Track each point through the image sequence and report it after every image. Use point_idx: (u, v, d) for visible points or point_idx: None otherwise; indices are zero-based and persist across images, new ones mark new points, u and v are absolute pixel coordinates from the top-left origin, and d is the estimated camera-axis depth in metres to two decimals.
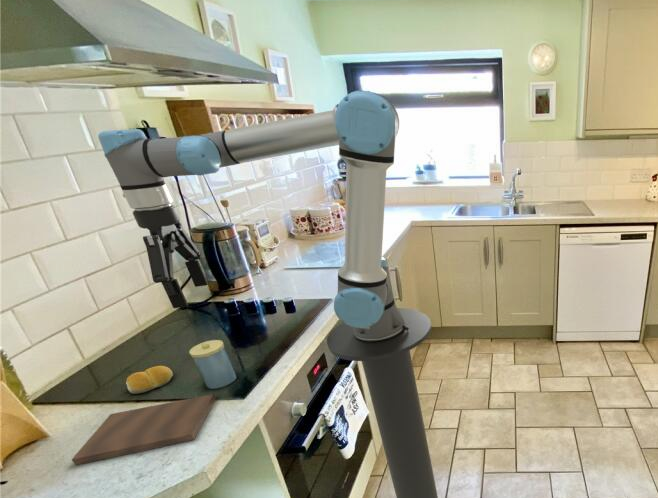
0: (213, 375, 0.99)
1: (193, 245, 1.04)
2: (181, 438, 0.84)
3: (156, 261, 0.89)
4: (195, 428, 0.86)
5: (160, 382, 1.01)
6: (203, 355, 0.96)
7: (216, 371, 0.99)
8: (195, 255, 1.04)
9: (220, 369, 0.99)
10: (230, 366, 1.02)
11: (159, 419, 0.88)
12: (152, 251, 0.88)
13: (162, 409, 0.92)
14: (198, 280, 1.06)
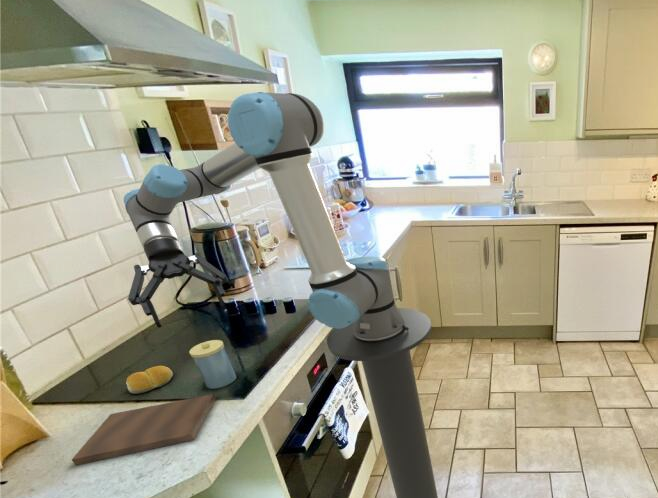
0: (213, 375, 0.99)
1: (215, 270, 1.09)
2: (181, 438, 0.84)
3: None
4: (195, 428, 0.86)
5: (160, 382, 1.01)
6: (203, 355, 0.96)
7: (216, 371, 0.99)
8: (213, 279, 1.08)
9: (220, 369, 0.99)
10: (230, 366, 1.02)
11: (159, 419, 0.88)
12: None
13: (162, 409, 0.92)
14: None
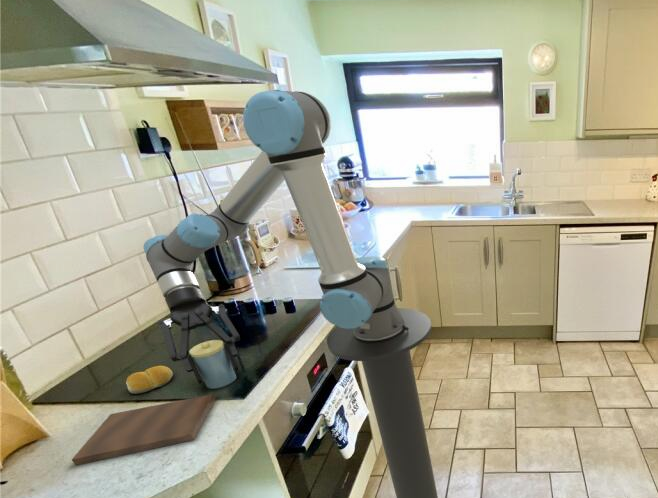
0: (213, 375, 0.99)
1: (230, 327, 1.03)
2: (181, 438, 0.84)
3: None
4: (195, 428, 0.86)
5: (160, 382, 1.01)
6: (203, 355, 0.96)
7: (216, 371, 0.99)
8: (226, 338, 1.02)
9: (220, 369, 0.99)
10: (230, 366, 1.02)
11: (159, 419, 0.88)
12: None
13: (162, 409, 0.92)
14: None
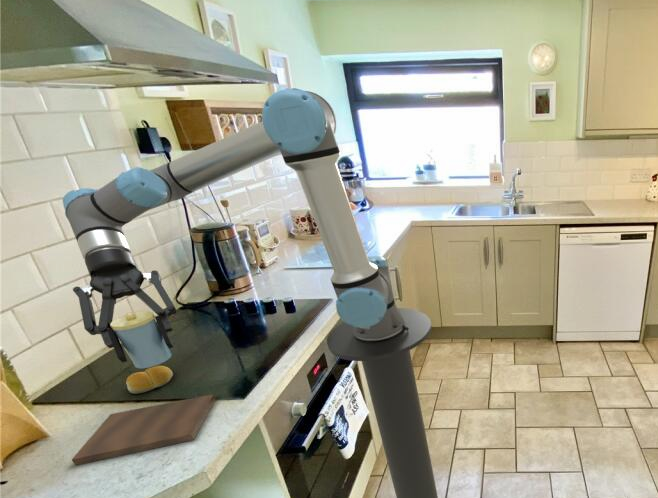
0: (139, 352, 0.83)
1: (164, 297, 0.88)
2: (181, 438, 0.84)
3: None
4: (195, 428, 0.86)
5: (160, 382, 1.01)
6: (125, 327, 0.81)
7: (144, 347, 0.83)
8: (158, 309, 0.86)
9: (148, 345, 0.84)
10: (163, 342, 0.87)
11: (159, 419, 0.88)
12: None
13: (162, 409, 0.92)
14: None
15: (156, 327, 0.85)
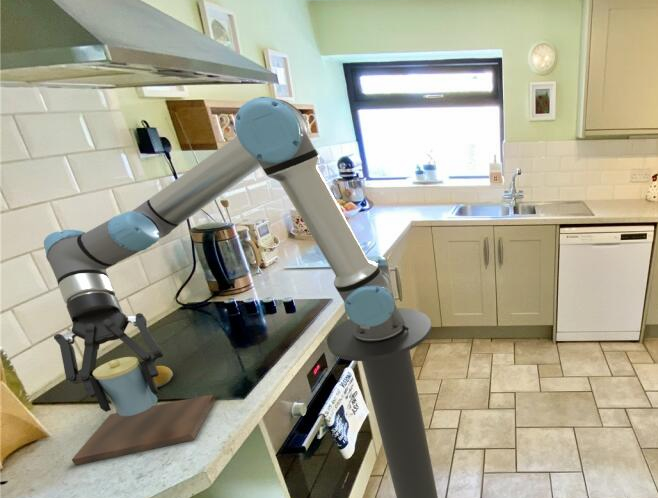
0: (123, 401, 0.81)
1: (150, 341, 0.85)
2: (181, 438, 0.84)
3: None
4: (195, 428, 0.86)
5: (160, 382, 1.01)
6: (108, 377, 0.78)
7: (128, 395, 0.81)
8: (143, 354, 0.84)
9: (132, 392, 0.81)
10: (148, 388, 0.84)
11: (159, 419, 0.88)
12: None
13: (162, 409, 0.92)
14: None
15: (141, 373, 0.83)
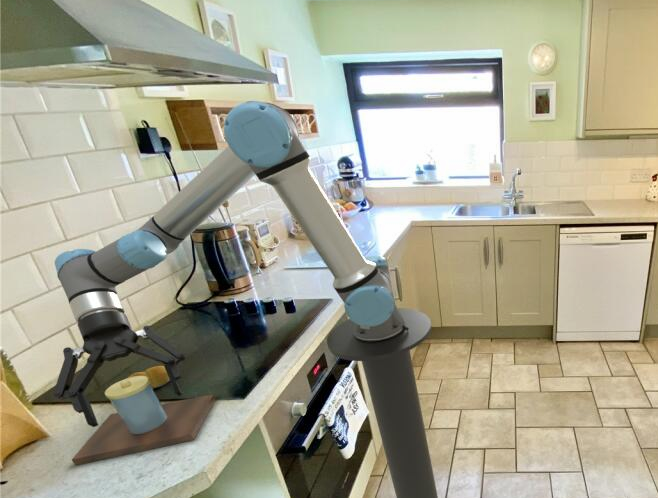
0: (134, 419, 0.83)
1: (169, 347, 0.89)
2: (181, 438, 0.84)
3: None
4: (195, 428, 0.86)
5: (160, 382, 1.01)
6: (120, 396, 0.80)
7: (139, 414, 0.83)
8: (166, 359, 0.88)
9: (143, 411, 0.84)
10: (158, 406, 0.86)
11: None
12: None
13: None
14: None
15: (151, 392, 0.85)
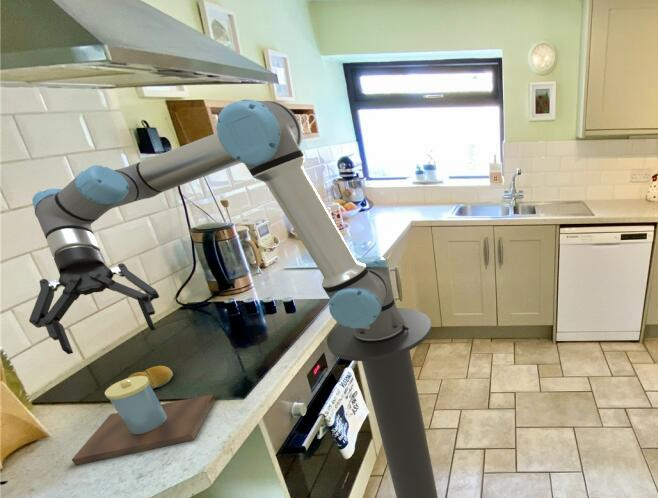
0: (134, 419, 0.83)
1: (143, 284, 0.93)
2: (181, 438, 0.84)
3: None
4: (195, 428, 0.86)
5: (160, 382, 1.01)
6: (120, 396, 0.80)
7: (139, 414, 0.83)
8: (140, 295, 0.92)
9: (143, 411, 0.84)
10: (158, 406, 0.86)
11: None
12: None
13: None
14: None
15: (151, 392, 0.85)
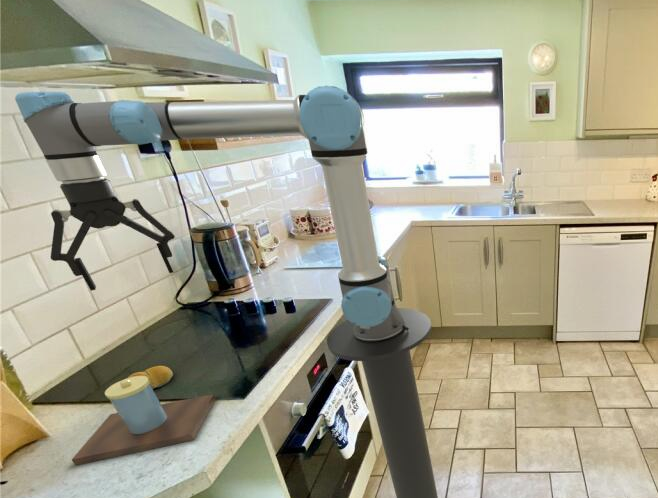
0: (134, 419, 0.83)
1: (160, 228, 0.92)
2: (181, 438, 0.84)
3: (53, 237, 0.83)
4: (195, 428, 0.86)
5: (160, 382, 1.01)
6: (120, 396, 0.80)
7: (139, 414, 0.83)
8: (158, 239, 0.92)
9: (143, 411, 0.84)
10: (158, 406, 0.86)
11: None
12: None
13: None
14: (166, 265, 0.96)
15: (151, 392, 0.85)
